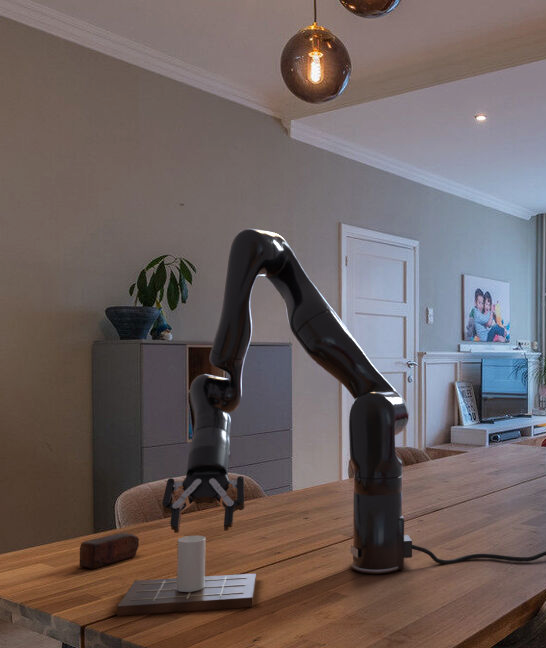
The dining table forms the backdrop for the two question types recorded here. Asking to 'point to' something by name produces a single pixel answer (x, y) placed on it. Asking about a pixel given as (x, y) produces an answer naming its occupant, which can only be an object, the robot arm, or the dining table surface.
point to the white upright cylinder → (191, 563)
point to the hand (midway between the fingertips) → (201, 529)
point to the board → (188, 595)
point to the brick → (108, 550)
